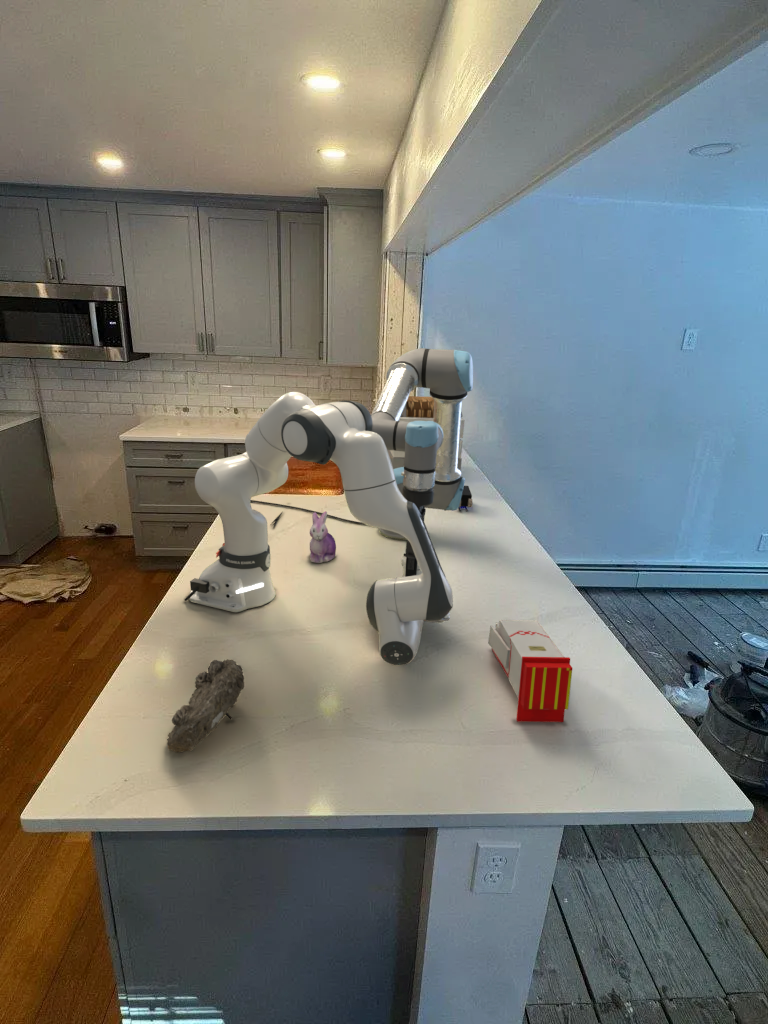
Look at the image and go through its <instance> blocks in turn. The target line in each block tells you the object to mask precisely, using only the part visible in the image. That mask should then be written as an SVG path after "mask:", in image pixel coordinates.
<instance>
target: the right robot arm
mask: <svg viewBox="0 0 768 1024" xmlns="http://www.w3.org/2000/svg"><path fill="white" fill-rule="evenodd" d="M385 378H386V383H385V384H384V386H383V389H382V390H381V392H380V395H379V397H378V399H377V401H376V403H375V405H374V408H373V410H372V412H371V413H370V415H371V417H372V422H373V428H372V432H375V433H377V434H378V435H380V436H381V437H382V439H383V441H384V443H385V445H386V448H387V450H394V451H403V452H405V459H404V467H401V468H396V469H393V470H394V474H395V479H396V484H397V486H398V489H399V491H400V492H401V494H402V495H403V497H404V498H405V499H406V500H407V501H410V502H413V503H414V504H415V505H416V506H417V508H418V510H419V512H420V514H421V516H422V518H423V521H424V522H425V517H426V509H433V510H442V511H451V512H452V511H453V512H454V511H457V510H459V509H458V508H459V505H460V500H461V496H462V492H463V487H464V486H465V483H466V478H465V477H463V476H462V470H461V471H460V470H459V469H458V468H457V463H458V448H459V434H460V420H461V418H462V417H461V412H462V406H463V400H465V399H466V398H467V397H468V393H469V392H472V391H473V387H474V363H473V357H472V355H471V353H470V352H469V351H466V350H458V349H447V348H446V349H443V348H441V349H440V348H426V347H420V348H415V349H411V350H410V351H407V352H405V353H403V354H401V355H400V356H399V357H397V358H396V359H395V360H394V361H393V362H392V363H391V364H390V366H389V368H388V370H387V372H386V377H385ZM416 388H422V389H429V397H432V398H433V399H434V417H433V421H413V422H403V421H399V419H400V417H401V414H402V412H403V409H404V407H405V404H406V402H407V399H408V397H409V396H410V394H411V392H412V391H414V390H415V389H416ZM250 503H258V504H265V505H271V506H276V507H282V508H288V509H294V510H300V511H305V512H307V513H312V514H313V513H314V512H316V514H317V515H320V516H321V515H322V514H323V512H320V511H316V510H311V509H308V508H303V507H297V506H293V505H288V504H287V505H286V504H281V503H274V502H269V501H262V500H261V501H260V500H254V499H251V500H250ZM328 517H329V518H332V519H335V520H338V521H343V522H348V523H351V524H357V525H364V526H367V525H366V524H364V523H362V522H360V521H356V520H350V519H346V518H342V517H338V516H336V515H331V514H328V513H327V518H328ZM378 533H379V534H380V535H381V536H382V537H385V538H387V539H389V540H395V541H405V553H404V552H403V555H402V557H403V556H405V557H406V571H405V577H407V576H415V575H417V559H416V556H415V554H414V551H413V549H412V546H411V544H410V542H409V541H408V540H407V539H406V538H405V537H404V536H402V535H400V534H398V533H396V532H393V531H389V530H385V529H380V528H378Z"/></svg>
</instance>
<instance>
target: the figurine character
mask: <svg viewBox="0 0 768 1024" xmlns="http://www.w3.org/2000/svg"><path fill="white" fill-rule="evenodd" d="M472 497H473V495H472V492H471V489H470V486H469V485H464V487H463V492H462V496H461V500H460V505H459V508H458V509H457V510H458V511H459V512H461V511H462V510H461V509H465V511H466V512H468V511H469V510H468V508H472V507H473V498H472Z"/></svg>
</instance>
